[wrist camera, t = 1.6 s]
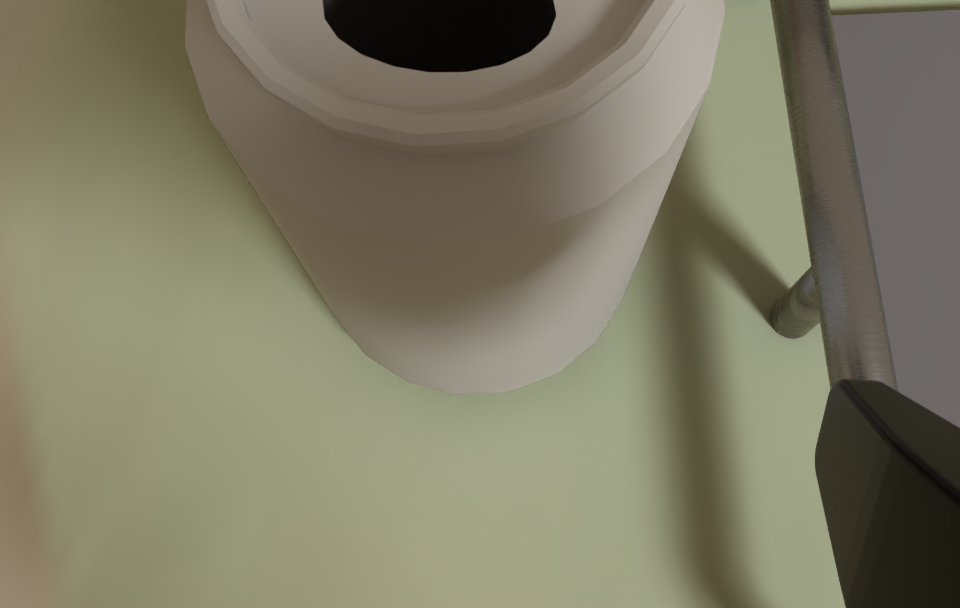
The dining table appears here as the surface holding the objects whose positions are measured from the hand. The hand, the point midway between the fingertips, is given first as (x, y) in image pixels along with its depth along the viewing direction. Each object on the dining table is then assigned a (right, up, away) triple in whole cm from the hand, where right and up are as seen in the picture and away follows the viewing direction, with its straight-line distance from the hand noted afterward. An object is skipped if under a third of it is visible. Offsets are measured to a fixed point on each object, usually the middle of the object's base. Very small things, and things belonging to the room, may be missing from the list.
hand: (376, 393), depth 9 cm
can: (+1, +2, +13) cm, 14 cm away
